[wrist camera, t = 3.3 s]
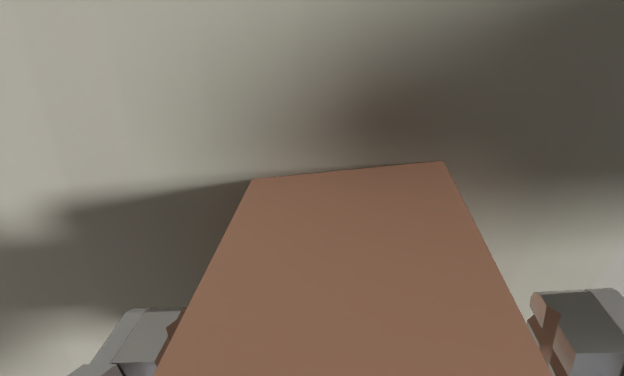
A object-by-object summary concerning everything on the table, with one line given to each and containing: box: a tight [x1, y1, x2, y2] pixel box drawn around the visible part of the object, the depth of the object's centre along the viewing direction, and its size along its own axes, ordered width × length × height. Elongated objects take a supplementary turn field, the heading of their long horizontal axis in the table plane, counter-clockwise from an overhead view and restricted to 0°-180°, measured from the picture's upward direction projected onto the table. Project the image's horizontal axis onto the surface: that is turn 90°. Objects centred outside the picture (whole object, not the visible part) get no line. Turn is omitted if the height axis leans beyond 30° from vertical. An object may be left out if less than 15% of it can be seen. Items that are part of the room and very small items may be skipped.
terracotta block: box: [153, 161, 552, 376], centre depth 8 cm, size 5×5×6 cm
